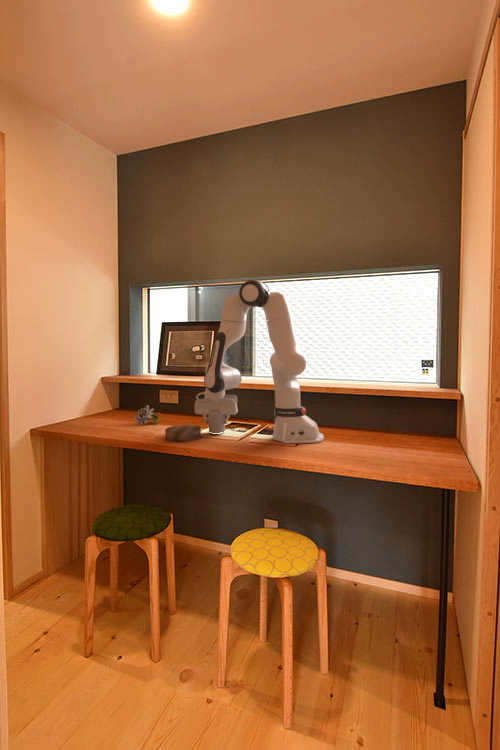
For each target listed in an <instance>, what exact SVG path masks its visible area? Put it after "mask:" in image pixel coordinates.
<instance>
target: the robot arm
mask: <svg viewBox="0 0 500 750" xmlns="http://www.w3.org/2000/svg"><path fill="white" fill-rule="evenodd" d="M256 307H257V308H262V309H263V311H264V315H265V321H266V328H267V331H268V336H269V337H268V338H269V341H270V343H271V344H272V347H273V350H274V352H273V353H272V355H271V356H270V358H269V364H270V367H271V374H272V380H273V385H274V402H275V404H274V405H275V406H274V409H273V411H274V412H273V415H274V417H273V418H274V429H273V433H272V437H273V438H274V439H275V440H274V439H273V438H272V439H273V440H274V441H277V442H281V443H283V444H307V443H308V444H309V443H322V442H323V441H324V439H325V437H324V434H323V433H321V432H320V431H319V426H318V423H317V422H316V421H314V420H313V419H312V418H310V417H309V416H307V415H306V413H307V410H306V408H305V406H302V405H301V388H300V385H299V382H298V376H299V375H301V374H302V373H303V372H304V371H305V370H306V366H307V362H306V360H307V359H305V357H304V355H303V352H302V351H301V347H300V344H299V342H298V341H299V340H298V339H297V335H296V332H295V331H296V330H295V328H294V327H295V326H294V322H293V316H292V315H293V314H292V310H291V308H290V307H291V306H290V304H289V300H288V299H287V296H286V294H285V293H283V292H280V291H274V292H271V291H270V289H269V287H268V285H267V284H266V283H264V282H262V281H261V280H258V279H249V280H246V281H244V282H243V283H242V284H241V285H240V287H239V291H238V294H231V295H228V296H227V297H226V298H225V300H224V303H223V306H222V311H221V320H220V324H219V325H220V326H219V328H218V330H217V333H216V334H215V336H214V339H213V341H212V346H211V351H210V356H209V361H208V362H206V364H205V371H204V372H205V374H204V377H203V384H204V386H205V390H204V391H202V392H199V393H197V394H196V396H195V399H196V400H195V402H194V413H195V415H202V418H203V419H204V421H205V423H204V424H205V425H207V424H208V425H209V419H208V417H207V416H208V414H209V412H210V411H211V410H220V412H221V413H222V415H224V416H225V418H226V419H224V424H225V425H227V424H228V423H229V422H228V421H229V418H230V417H231V415H232V416H235V415H236V414H237V413H238V412H239V411H238V401H239V400H238V396H236V395H235V394H226V391H228V390H233V389H235V388H236V389H237V388H238V387H239V386H240V385H241V384H242V383H241V382H242V374H241V372H240V371H239V369H237V368H236V367H232V366H230V365H228V364H226V363H225V362H224V360H225V358H224V357H225V354H226V351H227V350H228V348H229V347H230V346H231V345H233V344H234V343H236V342H239V341H240V340H242V338H243V337H244V336H245V334H246V330H247V319H248V318H247V317H248V312H249V310H250V309H251V308H256Z"/></svg>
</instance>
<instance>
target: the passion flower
mask: <svg viewBox="0 0 500 750" xmlns="http://www.w3.org/2000/svg"><path fill="white" fill-rule="evenodd" d="M154 410H155V408H154V407H153V408H150V406H149V405H148V404H146V406H144V407H142V408H139V409H138V410H137V413H135V415H134V417H133V419H134V420H137V424H138V425H140V426H143V425H144V424H147V423H148V420H149V422H153V424H154V425H158V422H160V418H159V417H158V416H160V417H161V413H160V412H159V411H158V412H155V413H154V412H153V411H154ZM156 414H158V416H157V415H156Z"/></svg>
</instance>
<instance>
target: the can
mask: <svg viewBox="0 0 500 750" xmlns="http://www.w3.org/2000/svg"><path fill="white" fill-rule="evenodd" d="M207 416H208V417H207V419H209V424H208V432H212V433H220V432H224V431H226V424H224V420H225V415H222V413H221V412H220V410H211V411H210V412H209V414H207ZM224 433H225V432H224Z"/></svg>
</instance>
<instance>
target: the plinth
mask: <svg viewBox="0 0 500 750" xmlns="http://www.w3.org/2000/svg"><path fill="white" fill-rule="evenodd" d="M164 430H165V431H164V432H165V433H164V434H165V440H166V441H168V442H170V441H171V442H170V443H186V442H193V441H196V440H199V439H200V438H202V431H201V430H202V429H201V426H199V425H195V424H178V425H173V426H169V427H167V428H165V429H164Z"/></svg>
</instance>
